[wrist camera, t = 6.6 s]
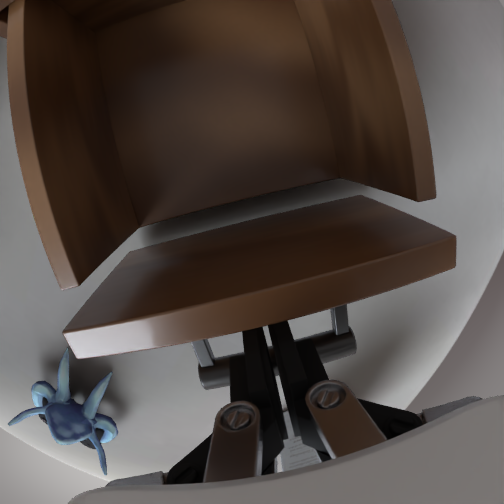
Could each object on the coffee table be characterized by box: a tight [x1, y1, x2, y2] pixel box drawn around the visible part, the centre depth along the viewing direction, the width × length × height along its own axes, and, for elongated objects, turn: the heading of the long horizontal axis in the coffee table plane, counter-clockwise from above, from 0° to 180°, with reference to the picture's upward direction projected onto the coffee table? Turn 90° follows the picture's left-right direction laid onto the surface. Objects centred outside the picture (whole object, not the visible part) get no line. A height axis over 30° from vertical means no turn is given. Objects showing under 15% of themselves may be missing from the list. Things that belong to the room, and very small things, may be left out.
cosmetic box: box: [280, 411, 320, 472], centre depth 17 cm, size 6×4×12 cm
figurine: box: [8, 348, 118, 475], centre depth 18 cm, size 10×12×8 cm
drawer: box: [7, 0, 456, 390], centre depth 11 cm, size 19×13×8 cm
